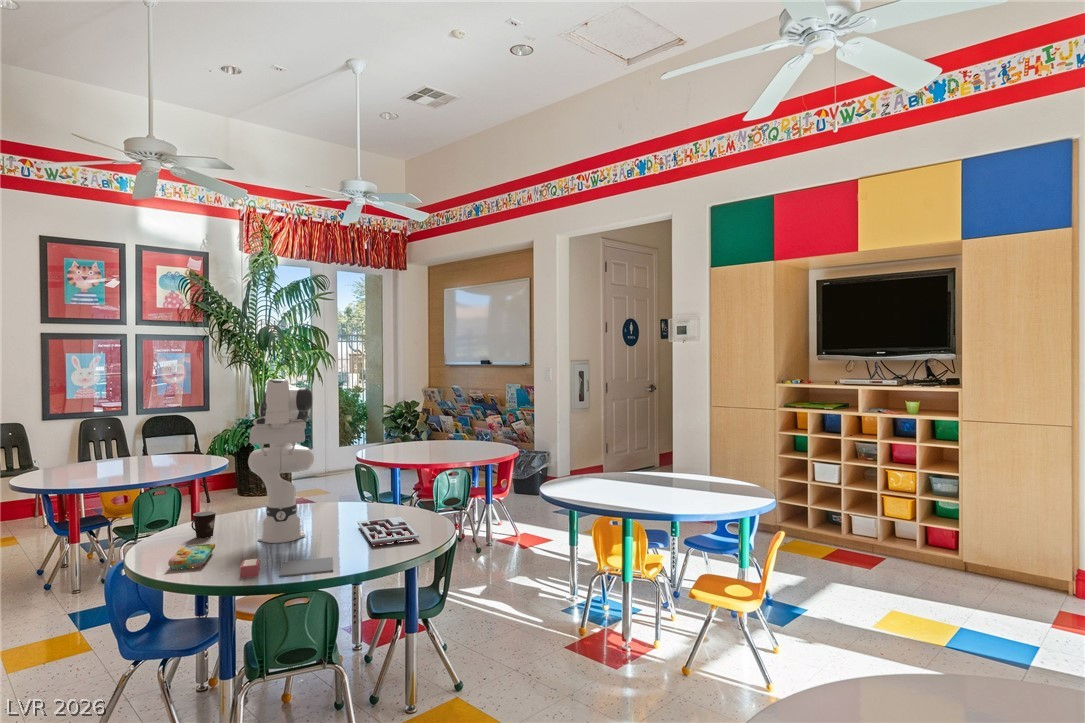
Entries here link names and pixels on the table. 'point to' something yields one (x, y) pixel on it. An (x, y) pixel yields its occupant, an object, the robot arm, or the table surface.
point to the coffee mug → (204, 523)
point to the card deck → (250, 568)
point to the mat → (306, 567)
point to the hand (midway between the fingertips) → (277, 455)
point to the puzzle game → (191, 556)
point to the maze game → (396, 529)
